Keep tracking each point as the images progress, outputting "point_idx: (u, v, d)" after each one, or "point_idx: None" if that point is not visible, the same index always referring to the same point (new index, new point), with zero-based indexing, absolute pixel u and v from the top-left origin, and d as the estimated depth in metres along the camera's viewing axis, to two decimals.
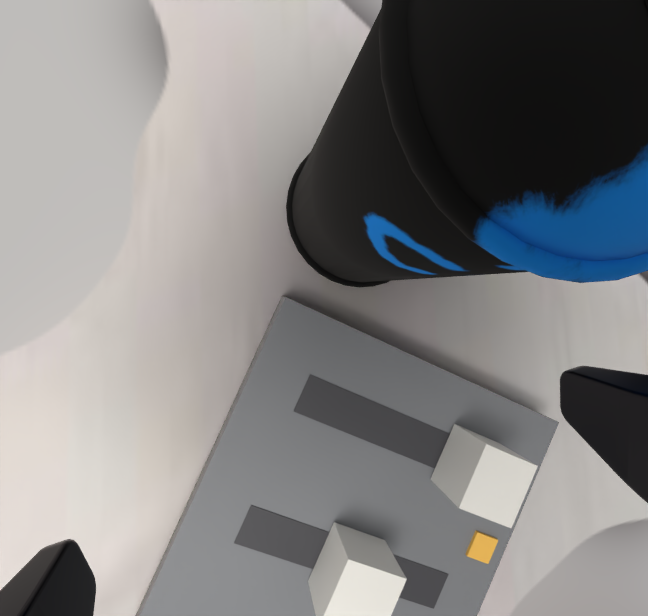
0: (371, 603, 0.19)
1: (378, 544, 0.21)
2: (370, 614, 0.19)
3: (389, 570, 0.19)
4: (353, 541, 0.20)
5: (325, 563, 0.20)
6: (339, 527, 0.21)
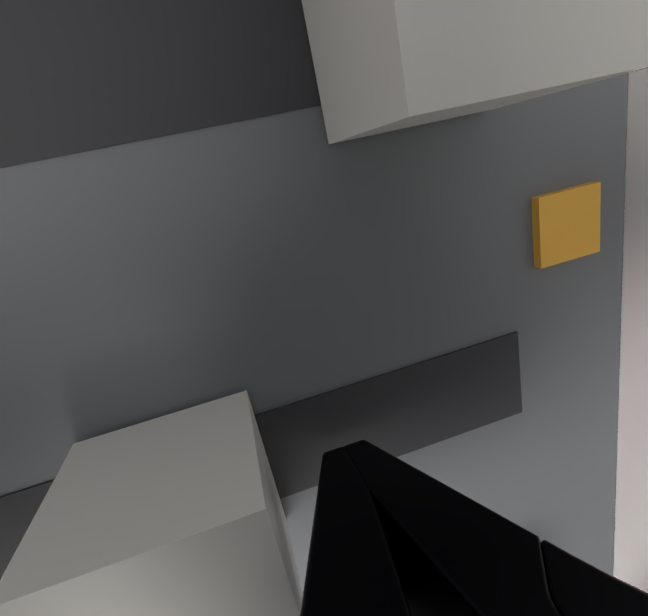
0: None
1: (211, 421, 0.07)
2: None
3: (191, 522, 0.05)
4: (101, 476, 0.06)
5: None
6: (82, 450, 0.07)
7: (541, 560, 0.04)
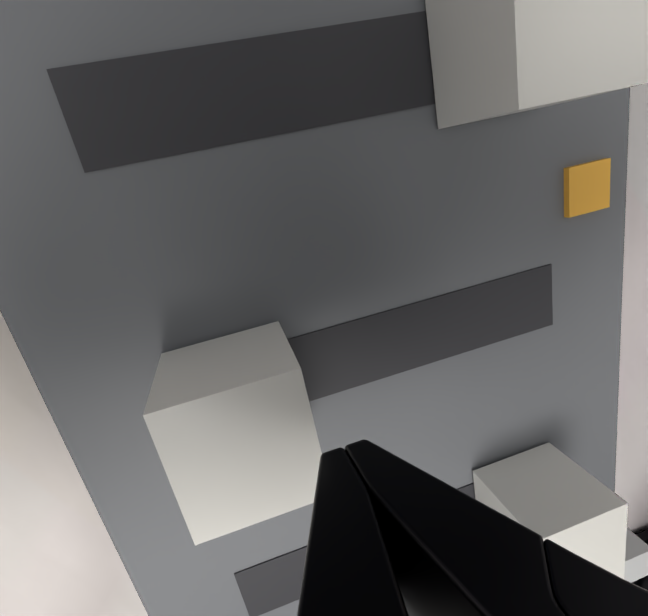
0: (263, 450, 0.08)
1: (256, 337, 0.10)
2: (276, 466, 0.09)
3: (256, 376, 0.08)
4: (189, 365, 0.09)
5: None
6: (169, 355, 0.10)
7: (543, 559, 0.04)
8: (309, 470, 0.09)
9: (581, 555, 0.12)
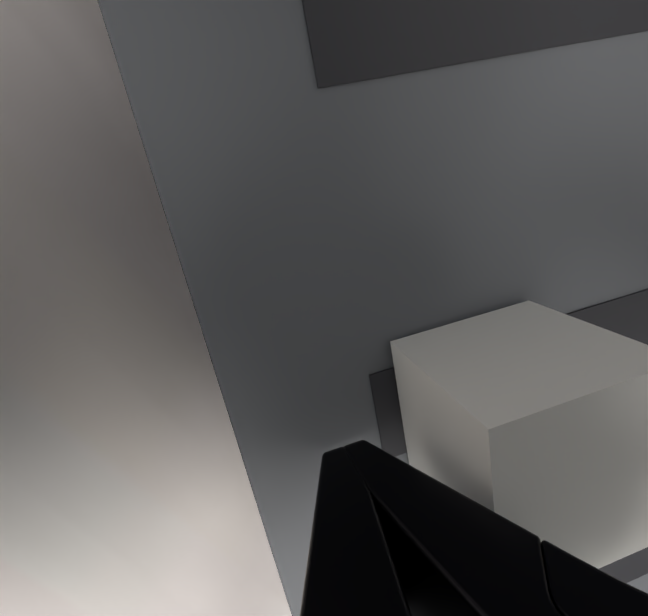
0: (612, 477, 0.06)
1: (525, 319, 0.08)
2: (621, 500, 0.06)
3: (620, 372, 0.06)
4: (465, 356, 0.07)
5: (425, 441, 0.07)
6: (409, 344, 0.08)
7: (541, 560, 0.04)
8: None
9: None
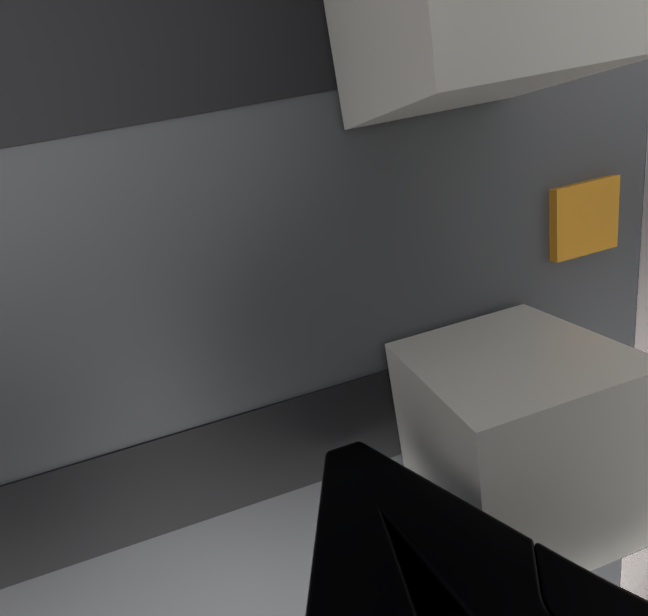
0: (601, 481, 0.06)
1: (518, 323, 0.08)
2: (611, 503, 0.06)
3: (609, 376, 0.06)
4: (457, 359, 0.07)
5: (418, 443, 0.07)
6: (403, 347, 0.08)
7: (534, 563, 0.04)
8: (642, 508, 0.06)
9: None
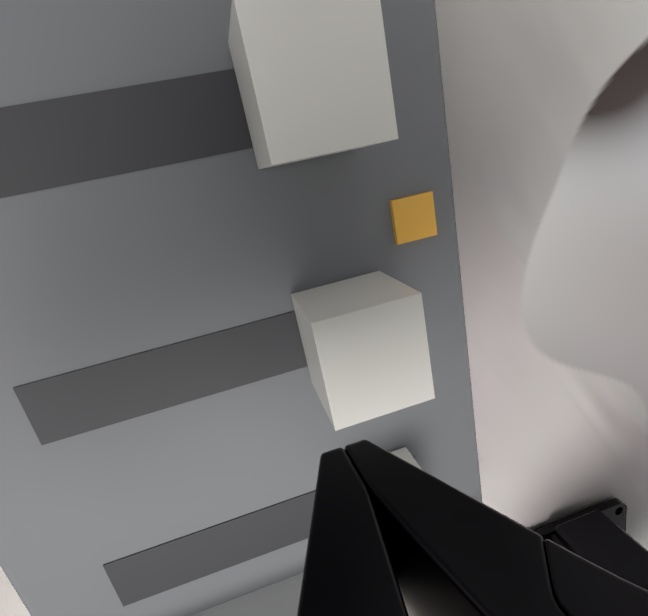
0: (389, 356, 0.11)
1: (368, 280, 0.13)
2: (397, 370, 0.11)
3: (388, 299, 0.11)
4: (323, 298, 0.12)
5: (307, 350, 0.13)
6: (299, 294, 0.13)
7: (543, 559, 0.04)
8: (420, 376, 0.12)
9: None
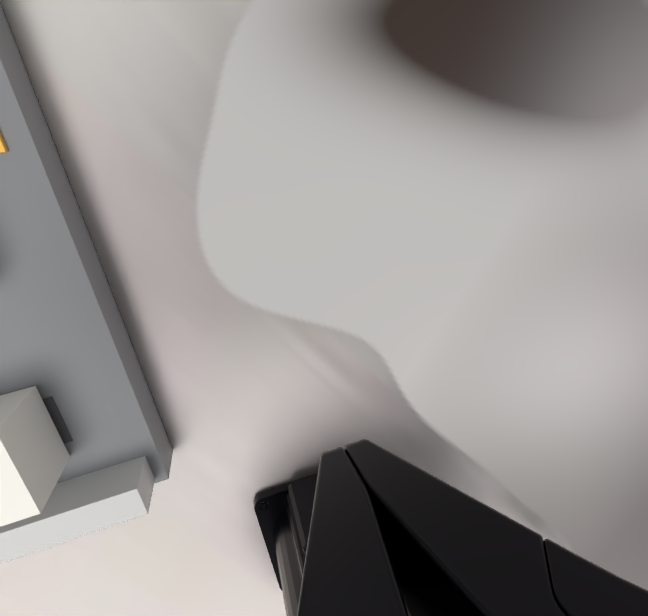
0: None
1: None
2: None
3: None
4: None
5: None
6: None
7: (544, 559, 0.04)
8: None
9: None
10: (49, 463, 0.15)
